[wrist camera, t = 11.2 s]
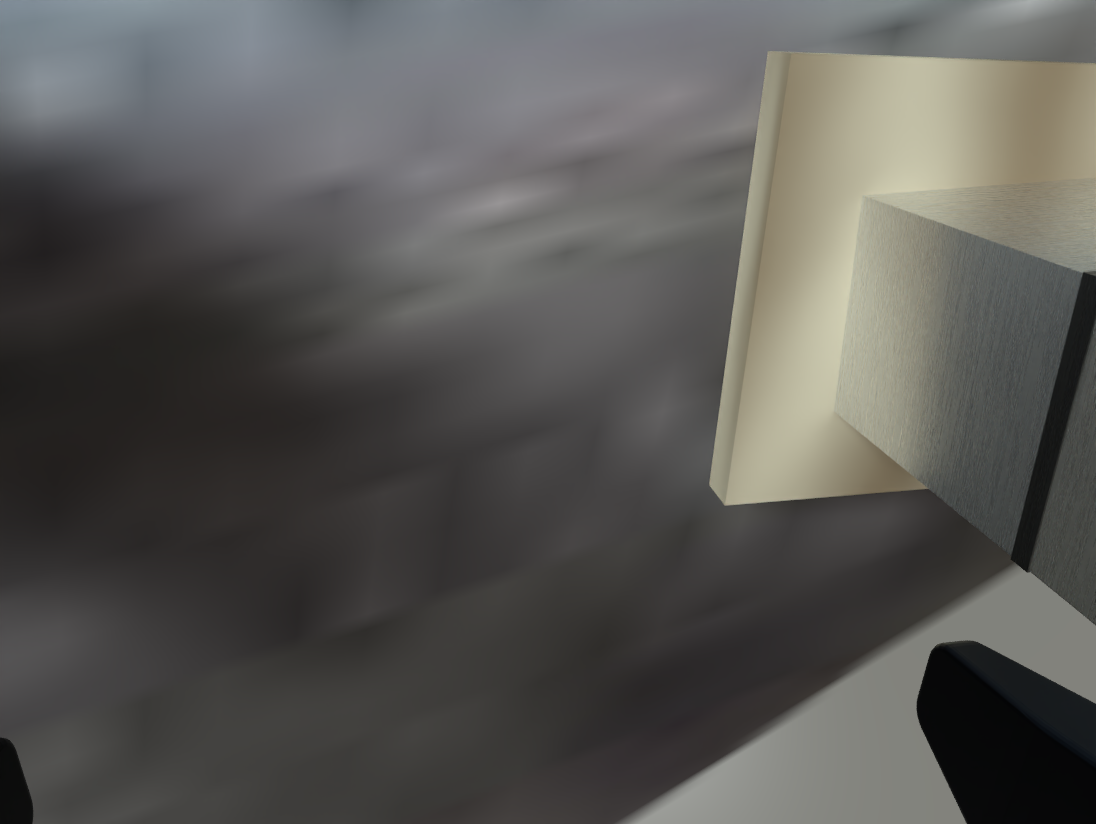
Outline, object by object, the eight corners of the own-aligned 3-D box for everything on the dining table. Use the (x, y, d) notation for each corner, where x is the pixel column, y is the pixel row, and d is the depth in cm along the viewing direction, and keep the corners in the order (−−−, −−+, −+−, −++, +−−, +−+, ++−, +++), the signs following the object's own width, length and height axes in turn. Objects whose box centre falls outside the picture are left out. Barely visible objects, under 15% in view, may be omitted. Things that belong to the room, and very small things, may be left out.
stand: (681, 448, 23) (724, 505, 20) (728, 47, 19) (791, 53, 16) (1000, 427, 25) (1077, 476, 22) (1106, 61, 21) (1218, 68, 18)
